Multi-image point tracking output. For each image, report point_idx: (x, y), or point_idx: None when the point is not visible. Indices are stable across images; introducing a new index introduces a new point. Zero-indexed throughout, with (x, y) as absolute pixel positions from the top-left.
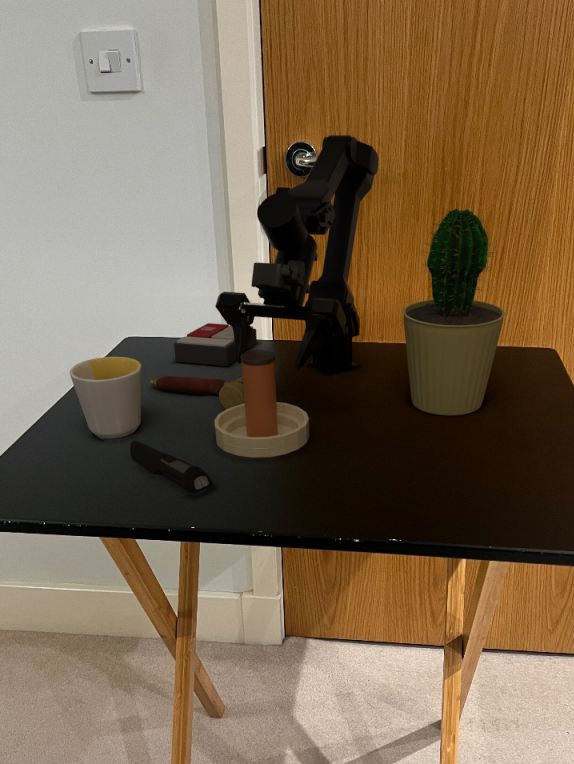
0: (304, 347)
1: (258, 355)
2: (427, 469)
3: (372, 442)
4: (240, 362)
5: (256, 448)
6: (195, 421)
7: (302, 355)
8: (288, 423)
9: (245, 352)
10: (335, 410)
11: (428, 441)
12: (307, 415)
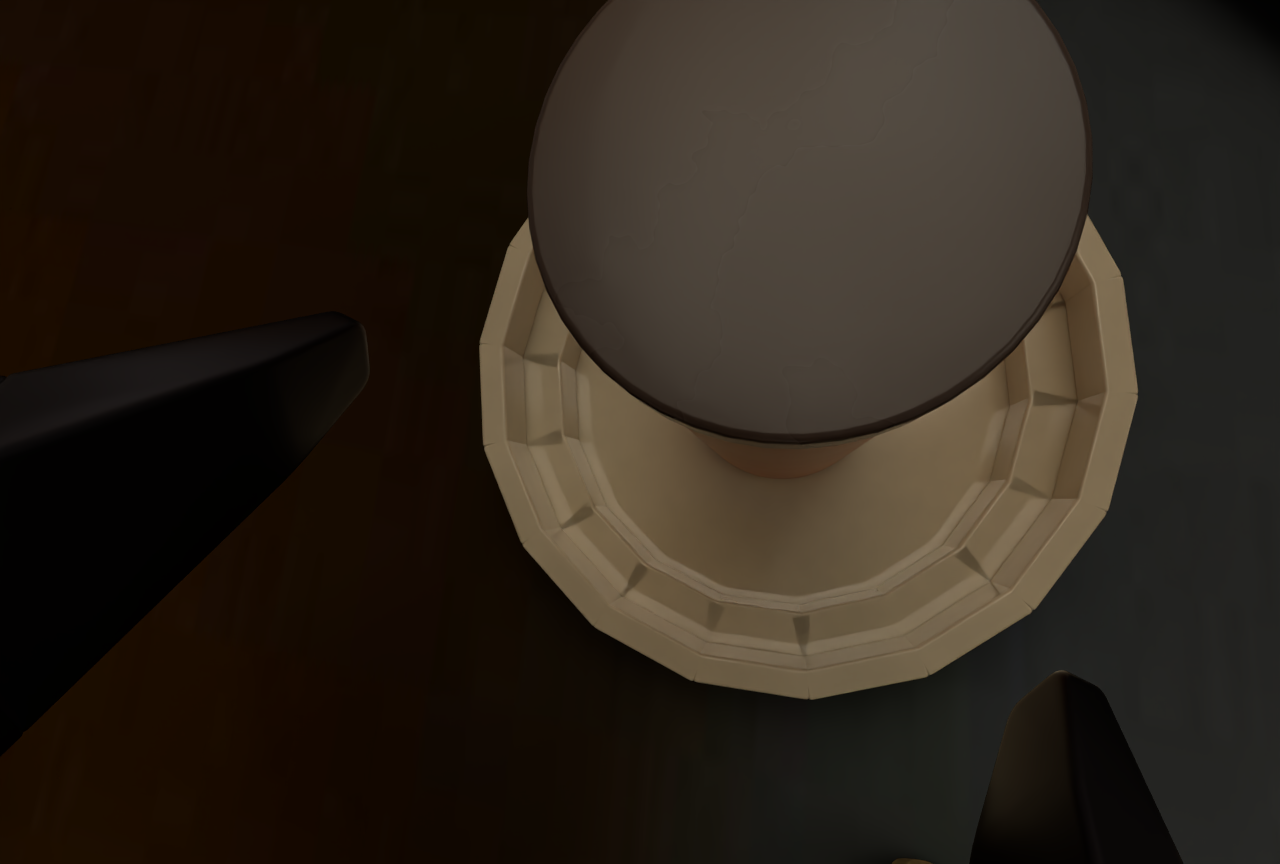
0: (90, 371)
1: (779, 148)
2: (106, 20)
3: (244, 303)
4: (1019, 706)
5: None
6: (1242, 789)
7: (202, 338)
8: (613, 517)
9: (1003, 331)
10: (333, 753)
11: (24, 283)
12: (481, 385)
